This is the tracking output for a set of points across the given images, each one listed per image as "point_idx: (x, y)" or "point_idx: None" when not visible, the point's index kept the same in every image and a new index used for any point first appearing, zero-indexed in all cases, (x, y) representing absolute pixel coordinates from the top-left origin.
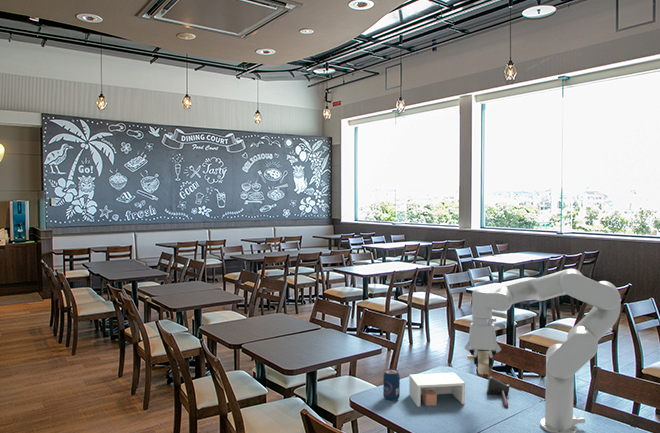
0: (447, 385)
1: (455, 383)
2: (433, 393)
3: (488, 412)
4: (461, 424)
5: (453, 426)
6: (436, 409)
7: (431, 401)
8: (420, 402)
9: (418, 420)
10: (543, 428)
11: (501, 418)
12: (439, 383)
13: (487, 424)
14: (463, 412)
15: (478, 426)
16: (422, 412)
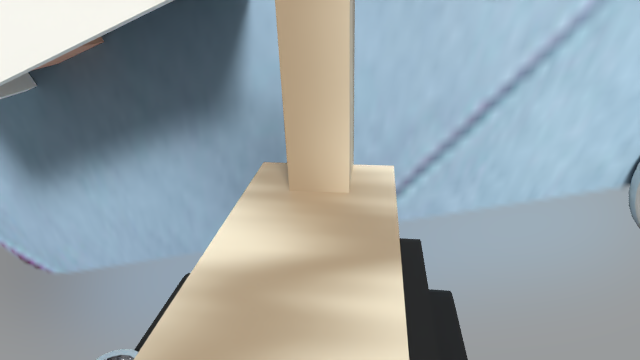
0: (79, 46)
1: (125, 19)
2: None
3: (385, 71)
4: None
5: None
6: (118, 99)
7: (65, 56)
8: (19, 91)
9: (82, 219)
10: (629, 205)
11: (443, 130)
12: (14, 53)
13: None
14: (252, 103)
15: None
16: (70, 146)
